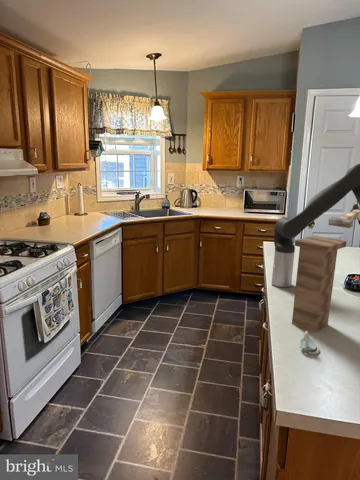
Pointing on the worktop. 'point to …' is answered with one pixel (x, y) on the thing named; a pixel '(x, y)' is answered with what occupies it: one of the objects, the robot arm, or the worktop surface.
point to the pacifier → (308, 344)
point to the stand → (315, 281)
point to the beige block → (345, 219)
